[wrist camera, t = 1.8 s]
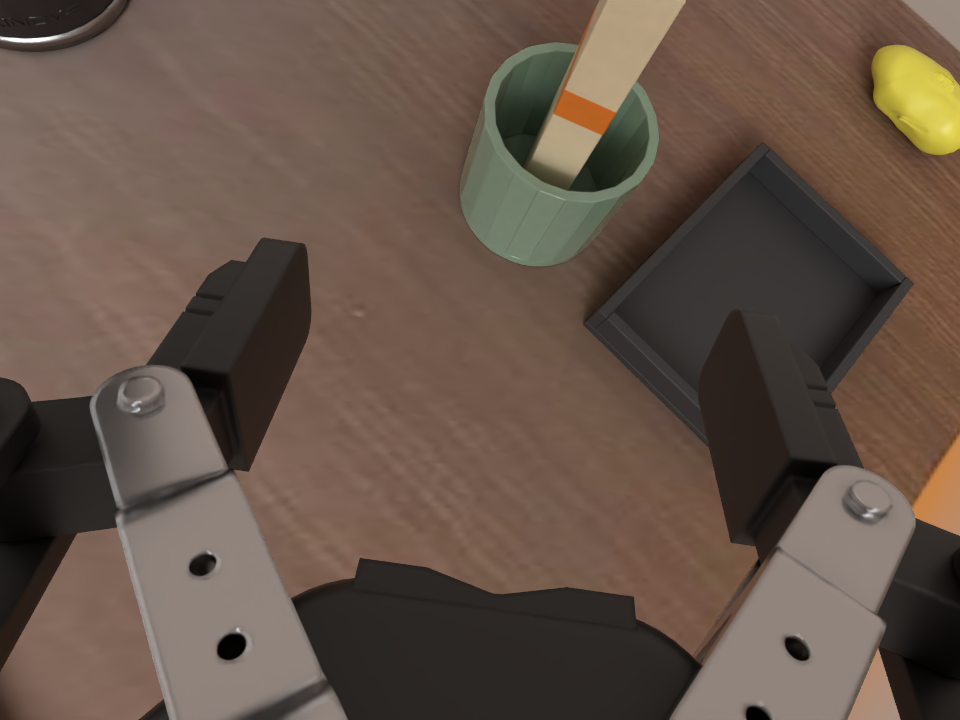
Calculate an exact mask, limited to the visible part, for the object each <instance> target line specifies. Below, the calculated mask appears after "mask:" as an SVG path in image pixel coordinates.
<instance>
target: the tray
mask: <svg viewBox="0 0 960 720" xmlns="http://www.w3.org/2000/svg"><path fill="white" fill-rule="evenodd" d="M913 284H914V283H913V282H912V281H911V280H910V279H909V278H908V277H906V276H905V275H904V274H903V273H902V272H901V271H900V270H899V269H898V268H897V267H896V266H895V265H894V264H893V263H891V262H890V261H889V260H888V259H887V258H886V257H885V256H884V255H883V254H882V253H881V252H880V251H879V250H878V249H877V248H876V247H874V246H873V245H872V244H871V243H870V242H869V241H868V240H867V239H866V238H865V237H864V236H863V235H862V234H861V233H860V232H858V231H857V230H856V229H855V228H854V227H853V226H852V225H851V224H850V223H849V222H848V221H847V220H846V219H845V218H844V217H842V216H841V215H840V214H839V213H838V212H837V211H836V210H835V209H834V208H833V207H832V206H831V205H830V204H829V203H828V202H827V201H825V200H824V199H823V198H822V197H821V196H820V195H819V194H818V193H817V192H816V191H815V190H814V189H813V188H812V187H811V186H809V185H808V184H807V183H806V182H805V181H804V180H803V179H802V178H801V177H800V176H799V175H798V174H797V173H796V172H795V171H794V170H792V169H791V168H790V167H789V166H788V165H787V164H786V163H785V162H784V161H783V160H782V159H781V158H780V157H779V156H778V155H776V154H775V153H774V152H773V151H772V150H771V149H770V148H769V147H768V146H767V145H766V144H765V143H764V142H762V143H761V144H760V145H759V146H758V147H757V148H756V149H755V150H754V151H753V152H752V153H751V154H750V155H748V156H747V157H746V158H745V159H744V160H743V161H742V162H741V163H740V164H739V165H738V166H737V167H736V168H735V169H734V170H733V171H732V172H731V173H730V174H729V175H728V176H727V177H726V178H725V180H724V181H723V182H722V183H721V184H720V185H719V186H718V187H717V188H716V189H715V190H714V191H713V192H712V193H711V194H710V195H709V196H708V197H707V198H706V199H705V200H704V201H703V202H702V203H701V204H700V205H699V206H698V207H697V208H696V209H695V210H694V211H693V212H692V213H691V214H690V215H689V216H688V217H687V218H686V219H685V220H684V221H683V222H682V223H681V224H680V225H679V226H678V228H677V229H676V230H675V231H674V232H673V233H672V234H671V235H670V236H669V237H668V238H667V239H666V240H665V241H664V242H663V243H662V244H661V245H660V246H659V247H658V248H657V249H656V250H655V251H654V252H653V253H652V254H651V255H650V256H649V257H648V258H647V259H646V260H645V261H644V262H643V263H642V264H641V265H640V266H639V267H638V268H637V269H636V270H635V271H634V272H633V273H632V274H631V275H630V277H629V278H628V279H627V280H626V281H625V282H624V283H623V284H622V285H621V286H620V287H619V288H618V289H617V290H616V291H615V292H614V293H613V294H612V295H611V296H610V297H609V298H608V299H607V300H606V301H605V302H604V303H603V304H602V305H601V306H600V307H599V308H598V309H597V310H596V311H595V312H594V313H593V314H592V315H591V316H590V317H589V318H588V319H587V320H586V321H585V322H584V325H585V326H586V327H587V328H588V329H589V330H590V331H591V332H592V333H593V334H594V335H595V336H596V337H597V338H598V339H599V340H600V341H601V342H602V343H603V344H604V345H605V346H606V347H607V348H608V349H609V350H610V351H611V352H612V353H613V354H614V355H615V356H616V357H617V358H618V359H619V360H620V361H621V362H622V363H623V364H624V365H625V366H626V367H627V368H628V369H629V370H631V371H632V372H633V373H634V374H635V375H636V376H637V377H638V378H639V379H640V380H641V381H642V382H643V383H644V384H645V385H646V386H647V387H648V388H649V389H650V390H651V391H652V392H653V393H654V394H655V395H656V396H657V397H658V398H659V399H660V400H661V401H662V402H663V403H664V404H665V405H666V406H667V407H668V408H669V409H670V410H671V411H672V412H673V413H674V414H675V415H677V416H678V417H679V418H680V419H681V420H682V421H683V422H684V423H685V424H686V425H687V426H688V427H689V428H690V429H691V430H692V431H693V432H694V433H695V434H696V435H697V436H698V437H699V438H700V439H701V440H702V441H703V442H704V443H705V444H706V445H707V446H708V447H709V444H708V440H707V436H706V431H705V427H704V423H703V418H702V414H701V409H700V405H699V400H698V383H699V378H700V374H701V371H702V368H703V366H704V364H705V362H706V360H707V357H708V355H709V353H710V351H711V349H712V347H713V345H714V343H715V341H716V339H717V337H718V335H719V332H720V330H721V328H722V326H723V324H724V322H725V320H726V318H727V316H728V315H729V313H730V312H731V311H732V310H735V309H738V310H744V311H751V312H758V313H765V314H771V315H776V316H777V317H778V318H779V320H780V322H781V325H782V327H783V330H784V332H785V335H786V337H787V339H788V342H789V344H791V345H798V346H800V347H801V348H802V349H803V350H804V351H805V352H806V353H807V354H808V355H809V357H810V358H811V359H812V360H813V361H814V362H815V363H816V364H817V365H818V366H819V368H820V371H821V373H822V375H823V377H824V380H825V382H826V384H827V386H828V389H827V391H828V392H830V393H832V392H833V391H834V389H835V388H836V387H837V385H838V384H839V383H840V381H841V380H842V379H843V377H844V376H845V375H846V373H847V372H848V371H849V369H850V368H851V367H852V365H853V364H854V363H855V361H856V360H857V359H858V357H859V356H860V355H861V353H862V352H863V351H864V349H865V348H866V347H867V345H868V344H869V343H870V341H871V340H872V339H873V337H874V336H875V335H876V333H877V332H878V331H879V329H880V328H881V327H882V326H883V324H884V323H885V322H886V320H887V319H888V318H889V316H890V315H891V314H892V312H893V311H894V310H895V308H896V307H897V306H898V304H899V303H900V302H901V300H902V299H903V298H904V296H905V295H906V294H907V292H908V291H909V290H910V288H911V287H912V286H913Z"/></svg>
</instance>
